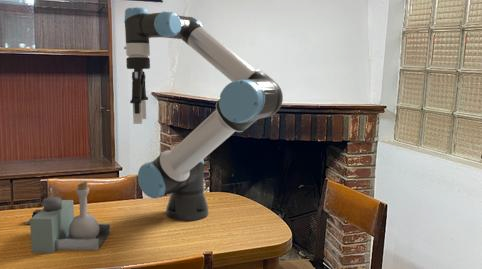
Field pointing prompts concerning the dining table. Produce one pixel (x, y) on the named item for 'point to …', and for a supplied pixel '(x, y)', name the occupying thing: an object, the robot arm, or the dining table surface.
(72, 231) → the potion bottle
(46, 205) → the housing
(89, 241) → the side bay
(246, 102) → the robot arm
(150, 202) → the dining table surface
